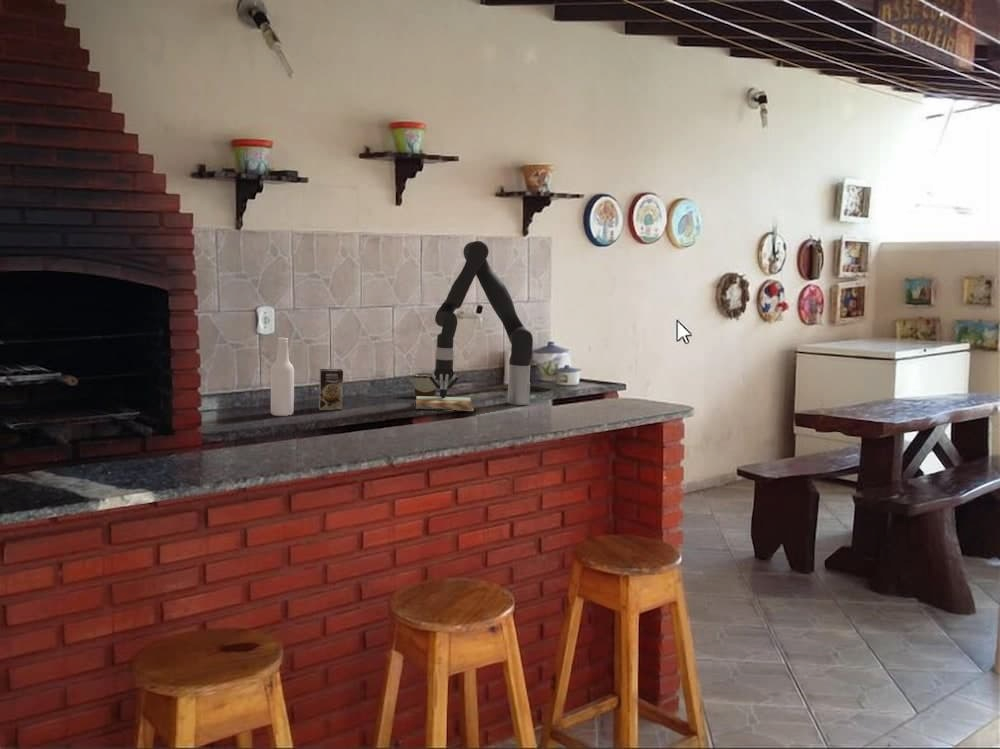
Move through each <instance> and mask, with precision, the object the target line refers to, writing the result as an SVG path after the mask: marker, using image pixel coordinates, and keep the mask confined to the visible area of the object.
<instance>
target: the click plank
mask: <svg viewBox="0 0 1000 749" xmlns="http://www.w3.org/2000/svg"><path fill="white" fill-rule="evenodd" d="M415 399H416V400H415V401H416V404H417V400H444V401H471V402H472V399H471V397H469V396H468V397H461V396H457V397H456V396H446V397H445V398H442V397H440V396H436V397H430V396H416V398H415Z"/></svg>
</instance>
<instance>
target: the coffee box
mask: <svg viewBox="0 0 1000 749" xmlns="http://www.w3.org/2000/svg"><path fill="white" fill-rule="evenodd" d="M318 382H319V383H318V384H319V385H318V386H319V387H318V392H319V393H318V409H319V411H336V410H335V409H342V410H343V394H344V393H343V392H344V391H343V389H344V386H343V385H344V370H343V369H341V368H320V369H319V381H318Z"/></svg>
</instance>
